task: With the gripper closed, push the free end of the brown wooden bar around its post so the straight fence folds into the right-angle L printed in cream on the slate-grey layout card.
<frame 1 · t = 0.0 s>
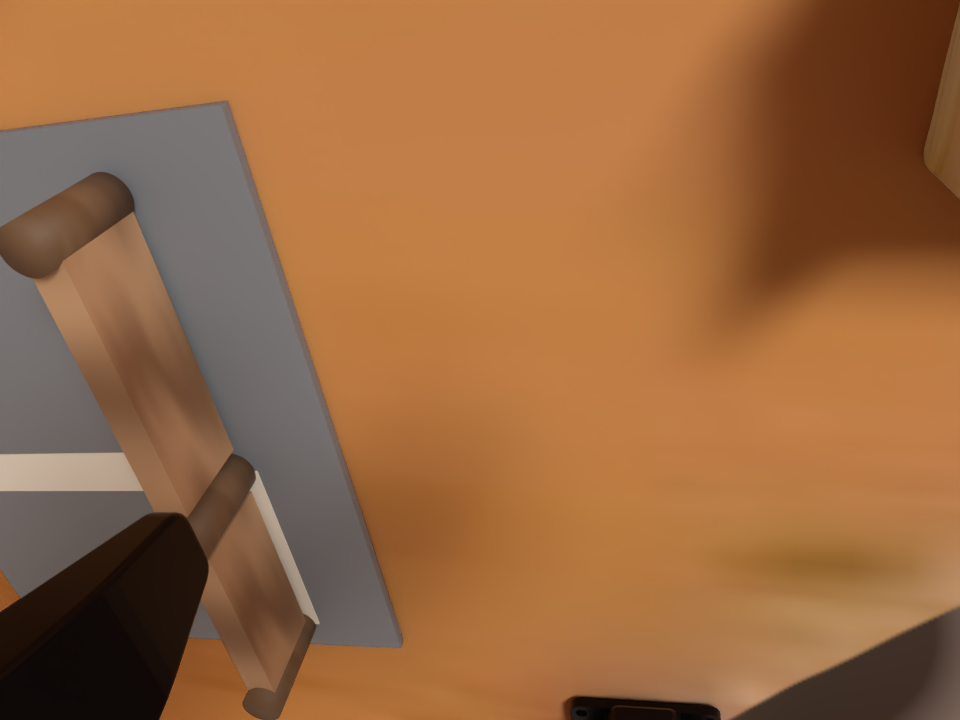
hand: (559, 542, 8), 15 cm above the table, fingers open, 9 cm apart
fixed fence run: (275, 551, 32), resting on layout card
layout card: (112, 436, 30), on the table
brown wooden bar: (134, 357, 24), point 3 cm above the table, hinge at 0.0°
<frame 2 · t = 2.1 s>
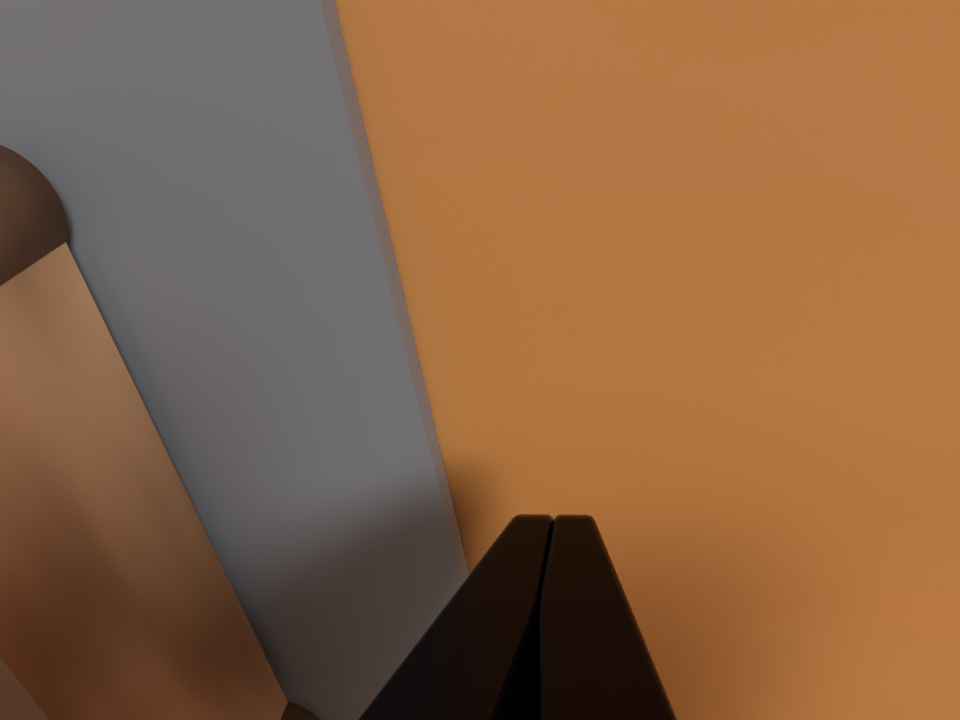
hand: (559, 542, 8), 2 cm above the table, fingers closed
layout card: (55, 649, 16), on the table
brown wooden bar: (72, 590, 10), point 3 cm above the table, hinge at 0.0°
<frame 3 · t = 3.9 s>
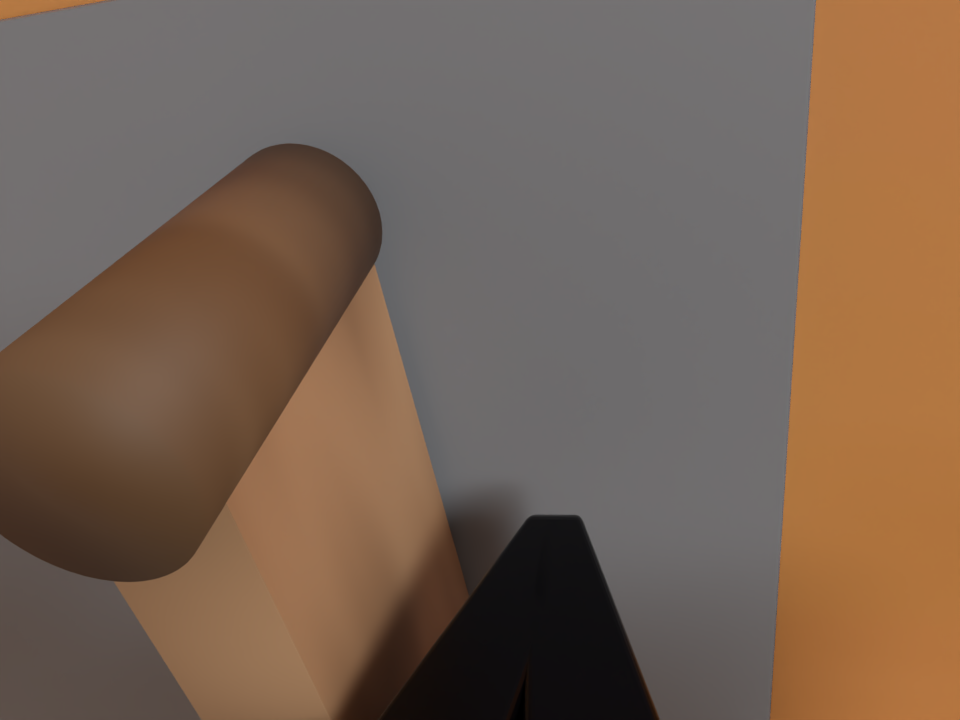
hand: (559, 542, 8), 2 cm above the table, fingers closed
layout card: (233, 714, 14), on the table
brown wooden bar: (370, 679, 8), point 3 cm above the table, hinge at 1.4°, touching gripper
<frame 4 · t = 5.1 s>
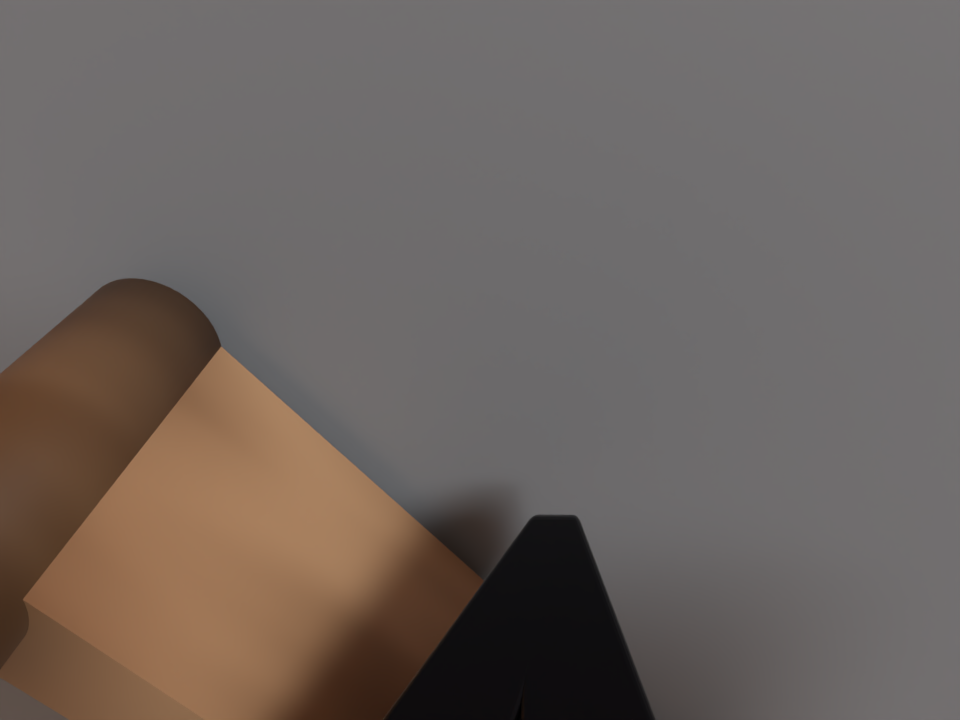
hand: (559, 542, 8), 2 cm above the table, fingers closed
layout card: (400, 704, 13), on the table
brown wooden bar: (392, 709, 9), point 3 cm above the table, hinge at 31.6°, touching gripper
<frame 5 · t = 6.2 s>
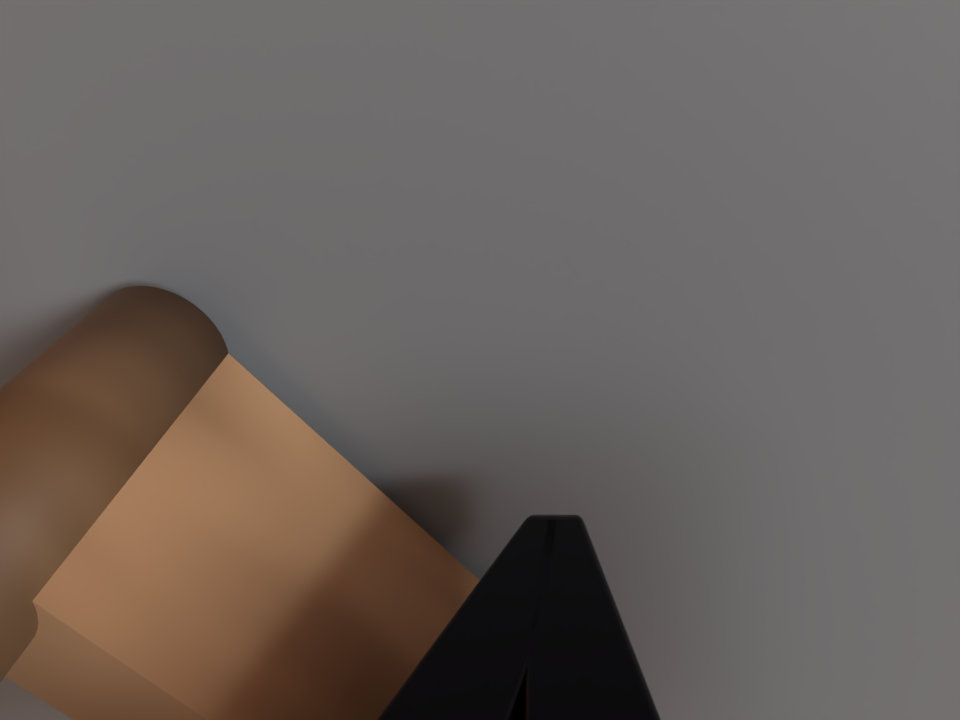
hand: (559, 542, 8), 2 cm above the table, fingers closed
layout card: (437, 647, 12), on the table
brown wooden bar: (395, 714, 9), point 3 cm above the table, hinge at 54.5°, touching gripper
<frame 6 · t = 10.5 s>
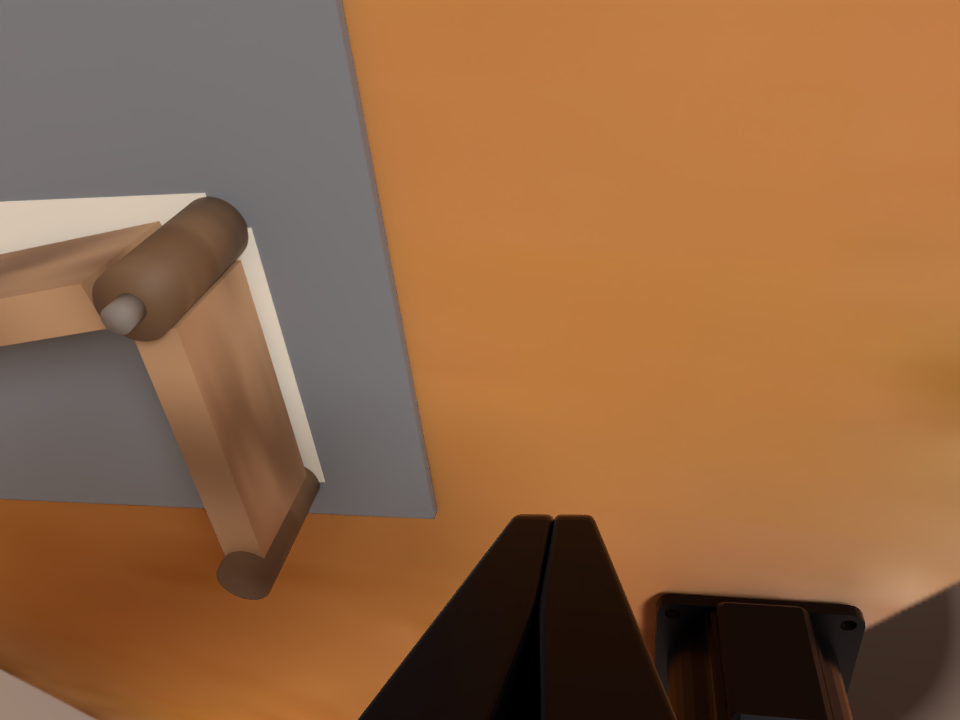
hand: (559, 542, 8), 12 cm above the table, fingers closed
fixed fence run: (269, 371, 23), resting on layout card
layout card: (39, 177, 20), on the table
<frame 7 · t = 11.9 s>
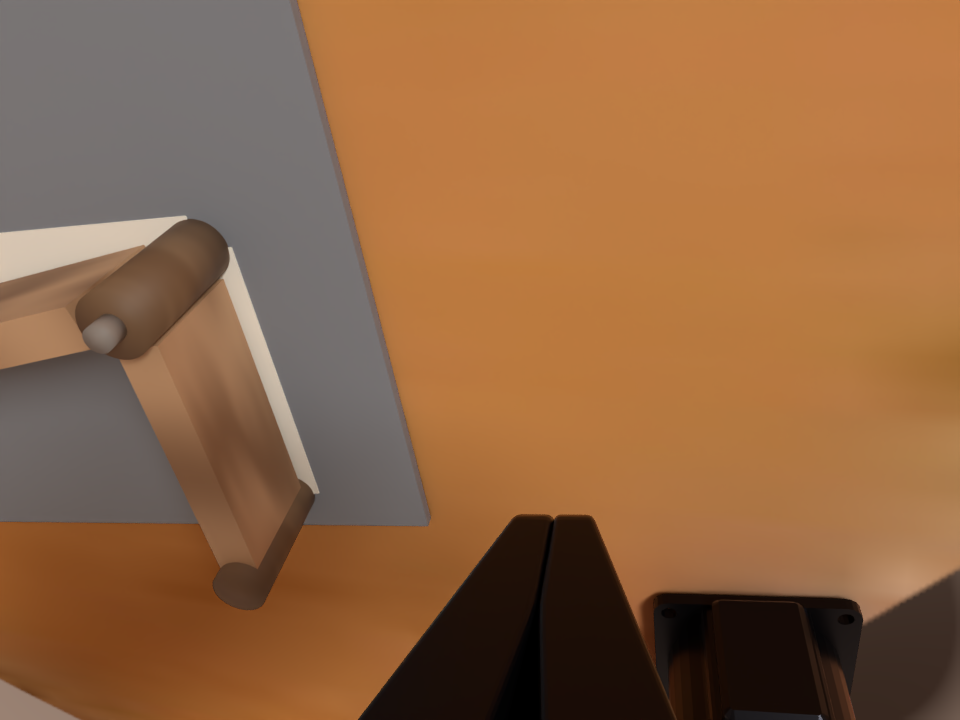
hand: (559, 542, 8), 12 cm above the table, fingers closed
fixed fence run: (259, 386, 24), resting on layout card
layout card: (30, 207, 21), on the table
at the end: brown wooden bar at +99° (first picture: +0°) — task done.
